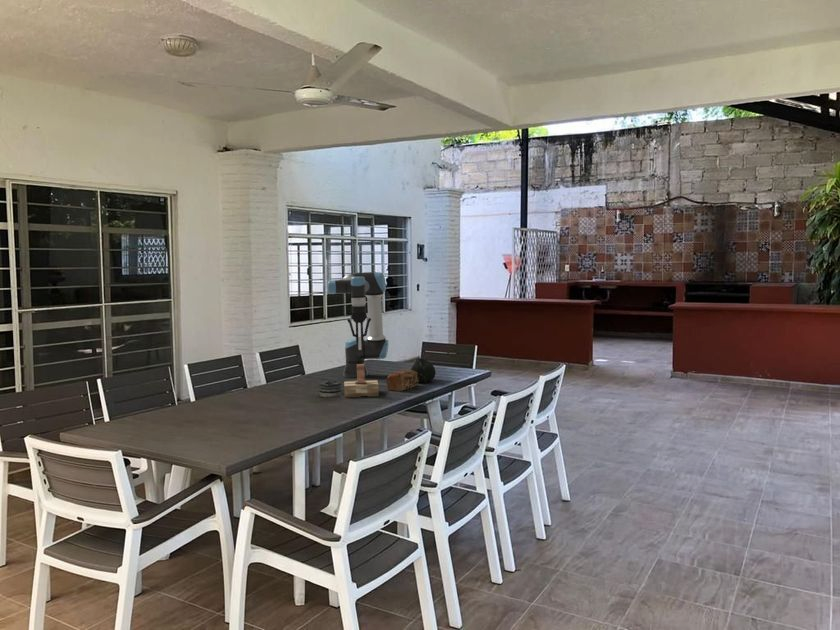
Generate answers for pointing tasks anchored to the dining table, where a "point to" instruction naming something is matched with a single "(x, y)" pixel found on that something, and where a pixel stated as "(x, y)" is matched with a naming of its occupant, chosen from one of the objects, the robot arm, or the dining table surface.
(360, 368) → the peg
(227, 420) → the dining table surface
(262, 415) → the dining table surface
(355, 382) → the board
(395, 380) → the bread
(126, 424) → the dining table surface
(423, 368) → the squash
